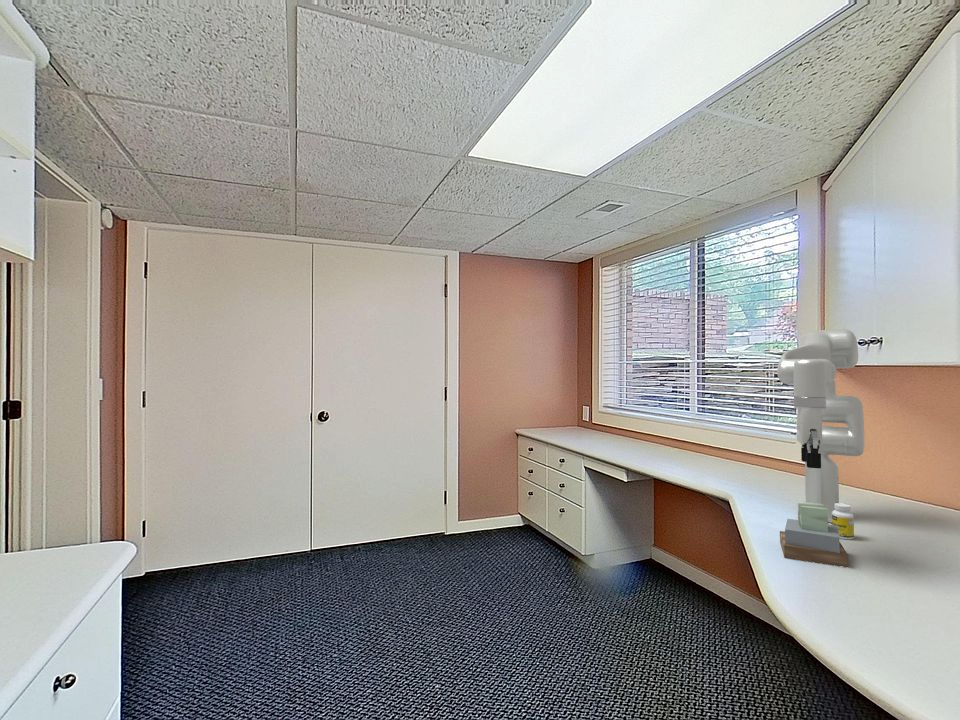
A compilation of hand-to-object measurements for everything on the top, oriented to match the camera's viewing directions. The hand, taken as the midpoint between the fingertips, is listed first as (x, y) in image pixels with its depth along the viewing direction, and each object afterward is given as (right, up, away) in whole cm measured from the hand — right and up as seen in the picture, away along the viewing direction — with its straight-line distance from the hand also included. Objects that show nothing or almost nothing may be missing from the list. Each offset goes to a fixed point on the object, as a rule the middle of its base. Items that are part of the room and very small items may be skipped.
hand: (810, 464), depth 137 cm
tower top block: (-1, -21, -1) cm, 21 cm away
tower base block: (-1, -25, -1) cm, 25 cm away
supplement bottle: (+19, -25, +13) cm, 34 cm away
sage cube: (0, -17, -1) cm, 17 cm away
